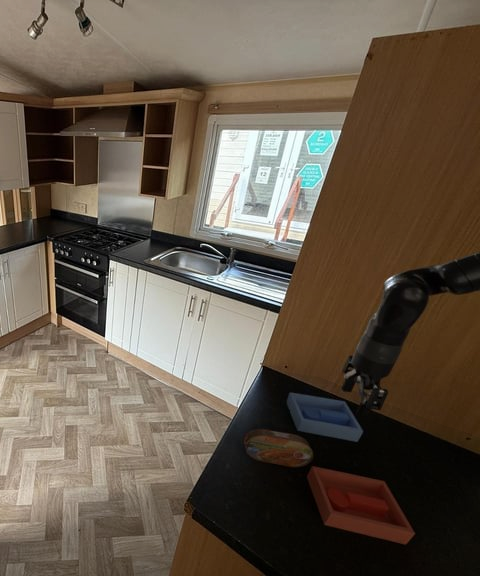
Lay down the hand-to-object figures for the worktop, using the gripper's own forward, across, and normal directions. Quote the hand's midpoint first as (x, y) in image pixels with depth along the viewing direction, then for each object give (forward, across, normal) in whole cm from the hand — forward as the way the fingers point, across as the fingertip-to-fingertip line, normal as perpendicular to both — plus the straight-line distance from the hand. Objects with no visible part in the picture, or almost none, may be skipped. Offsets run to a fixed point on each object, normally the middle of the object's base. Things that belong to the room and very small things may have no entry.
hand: (353, 402), depth 83 cm
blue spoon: (+9, +1, +4) cm, 10 cm away
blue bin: (+10, +1, +5) cm, 11 cm away
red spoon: (+9, -23, +7) cm, 26 cm away
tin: (+10, -15, +21) cm, 27 cm away
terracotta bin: (+10, -23, +7) cm, 26 cm away
